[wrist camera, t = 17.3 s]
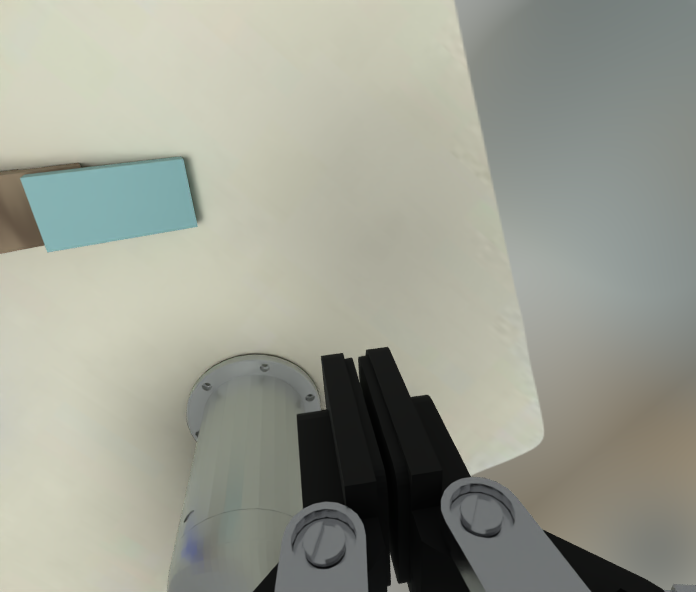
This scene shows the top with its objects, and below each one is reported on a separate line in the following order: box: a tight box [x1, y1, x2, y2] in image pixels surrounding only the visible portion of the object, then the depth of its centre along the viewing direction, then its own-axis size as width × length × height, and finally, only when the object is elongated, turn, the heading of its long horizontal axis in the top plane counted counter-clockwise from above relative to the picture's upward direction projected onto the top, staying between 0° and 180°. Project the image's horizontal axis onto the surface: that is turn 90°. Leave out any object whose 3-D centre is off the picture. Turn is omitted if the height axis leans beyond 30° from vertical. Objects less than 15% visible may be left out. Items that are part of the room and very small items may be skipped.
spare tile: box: [20, 156, 198, 252], centre depth 32 cm, size 5×2×10 cm
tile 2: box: [0, 163, 81, 254], centre depth 31 cm, size 5×2×10 cm
